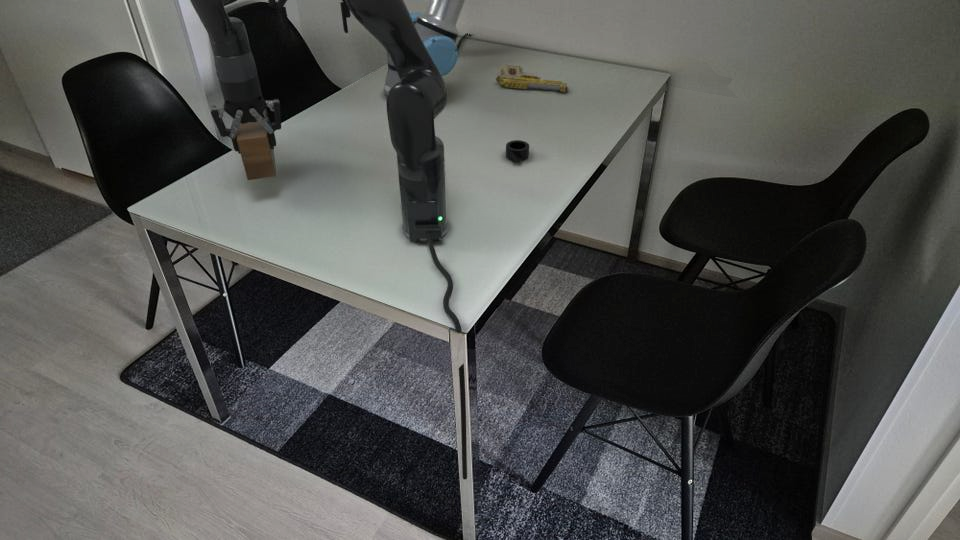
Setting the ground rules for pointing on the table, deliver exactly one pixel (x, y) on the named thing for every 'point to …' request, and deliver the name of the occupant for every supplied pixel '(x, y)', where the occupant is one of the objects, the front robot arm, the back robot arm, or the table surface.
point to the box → (256, 150)
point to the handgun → (527, 80)
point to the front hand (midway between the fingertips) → (256, 149)
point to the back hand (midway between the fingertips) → (317, 34)
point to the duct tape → (517, 150)
